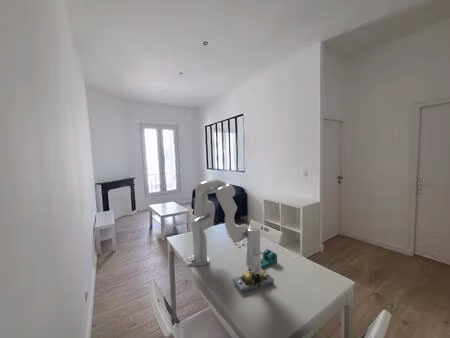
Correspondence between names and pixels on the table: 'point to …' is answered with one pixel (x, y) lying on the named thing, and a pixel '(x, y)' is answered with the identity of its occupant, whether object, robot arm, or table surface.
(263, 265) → the bracket
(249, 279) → the yellow rectangular block
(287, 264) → the table surface
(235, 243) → the miniature set
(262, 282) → the grey pocketed fixture tray
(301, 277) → the table surface
